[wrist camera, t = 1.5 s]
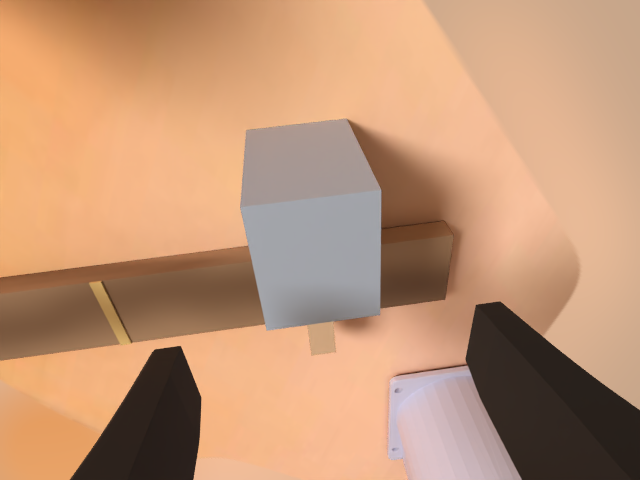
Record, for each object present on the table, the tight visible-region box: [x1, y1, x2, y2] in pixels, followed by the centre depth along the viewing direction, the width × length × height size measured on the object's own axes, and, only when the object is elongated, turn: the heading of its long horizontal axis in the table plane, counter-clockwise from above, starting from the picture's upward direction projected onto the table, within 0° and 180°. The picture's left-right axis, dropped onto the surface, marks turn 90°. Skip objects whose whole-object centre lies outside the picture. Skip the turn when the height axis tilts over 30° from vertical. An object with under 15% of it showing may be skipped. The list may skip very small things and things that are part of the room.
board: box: [0, 221, 454, 361], centre depth 20 cm, size 4×22×1 cm, turn 94°
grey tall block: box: [240, 119, 381, 356], centre depth 17 cm, size 10×4×6 cm, turn 4°
